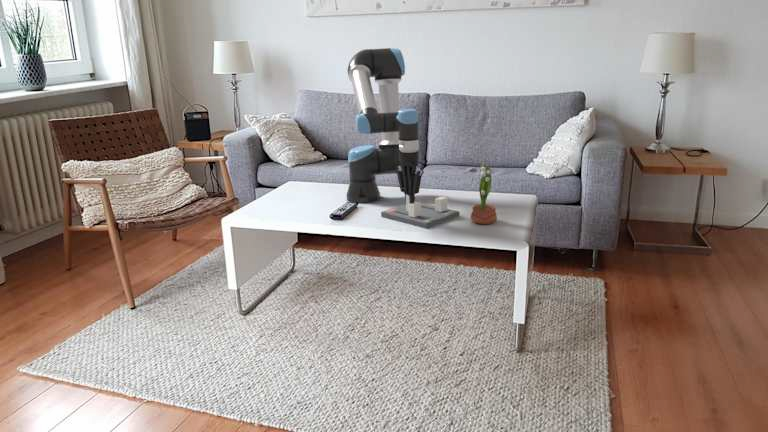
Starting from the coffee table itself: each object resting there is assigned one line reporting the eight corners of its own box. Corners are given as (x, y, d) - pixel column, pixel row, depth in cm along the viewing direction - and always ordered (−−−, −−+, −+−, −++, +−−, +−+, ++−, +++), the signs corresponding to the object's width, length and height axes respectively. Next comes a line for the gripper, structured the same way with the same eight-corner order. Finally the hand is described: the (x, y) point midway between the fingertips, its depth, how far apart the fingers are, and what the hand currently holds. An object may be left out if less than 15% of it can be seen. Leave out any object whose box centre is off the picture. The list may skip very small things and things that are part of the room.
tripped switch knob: (408, 216, 226) (408, 203, 224) (415, 213, 228) (415, 201, 227) (414, 217, 224) (413, 205, 222) (421, 215, 226) (420, 202, 225)
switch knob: (435, 210, 231) (435, 198, 230) (441, 208, 234) (441, 196, 233) (441, 212, 229) (440, 199, 228) (447, 209, 232) (447, 197, 230)
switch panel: (381, 216, 234) (381, 211, 233) (414, 205, 247) (414, 201, 247) (426, 228, 217) (426, 223, 217) (459, 216, 231) (459, 211, 230)
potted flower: (496, 227, 216) (498, 161, 208) (469, 226, 218) (470, 161, 210) (497, 218, 227) (498, 155, 220) (471, 217, 229) (471, 154, 222)
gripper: (389, 150, 222) (391, 209, 229) (414, 154, 213) (415, 215, 220) (403, 147, 227) (404, 205, 234) (428, 151, 218) (428, 211, 225)
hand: (410, 210), depth 227 cm, fingers closed
